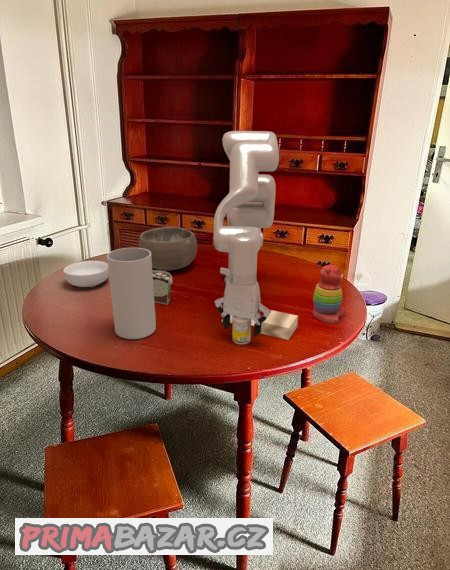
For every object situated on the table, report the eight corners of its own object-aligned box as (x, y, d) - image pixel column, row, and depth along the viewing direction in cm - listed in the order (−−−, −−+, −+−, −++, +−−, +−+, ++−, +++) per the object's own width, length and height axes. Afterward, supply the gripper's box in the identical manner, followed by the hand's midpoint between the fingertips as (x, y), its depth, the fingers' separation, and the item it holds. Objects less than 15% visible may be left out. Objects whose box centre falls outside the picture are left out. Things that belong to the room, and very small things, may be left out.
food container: (180, 298, 156) (179, 273, 152) (171, 305, 151) (169, 279, 147) (151, 292, 161) (149, 267, 157) (141, 299, 155) (139, 273, 152)
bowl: (156, 255, 200) (154, 223, 194) (205, 261, 193) (205, 228, 187) (130, 273, 179) (127, 238, 173) (184, 280, 172) (183, 244, 166)
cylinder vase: (134, 317, 142) (127, 245, 132) (164, 327, 136) (159, 252, 127) (106, 333, 132) (97, 256, 122) (137, 344, 126) (131, 264, 117)
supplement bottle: (239, 333, 132) (240, 303, 128) (254, 339, 129) (255, 309, 125) (228, 341, 129) (228, 310, 125) (242, 347, 125) (243, 316, 121)
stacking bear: (336, 325, 138) (342, 273, 131) (306, 317, 143) (311, 267, 136) (346, 312, 146) (353, 263, 139) (318, 305, 151) (323, 257, 144)
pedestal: (260, 333, 133) (260, 321, 131) (270, 321, 140) (271, 310, 139) (288, 339, 129) (289, 328, 128) (297, 327, 137) (298, 315, 135)
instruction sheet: (221, 321, 140) (221, 321, 140) (227, 311, 147) (227, 310, 147) (254, 326, 137) (254, 325, 137) (259, 315, 144) (259, 314, 144)
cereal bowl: (116, 277, 175) (115, 260, 172) (101, 293, 160) (99, 276, 157) (76, 275, 176) (74, 259, 174) (58, 291, 161) (55, 274, 158)
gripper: (209, 276, 121) (209, 330, 128) (267, 287, 114) (264, 343, 121) (221, 268, 127) (221, 320, 134) (276, 278, 121) (273, 332, 127)
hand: (241, 331), depth 127 cm, fingers open, 9 cm apart
